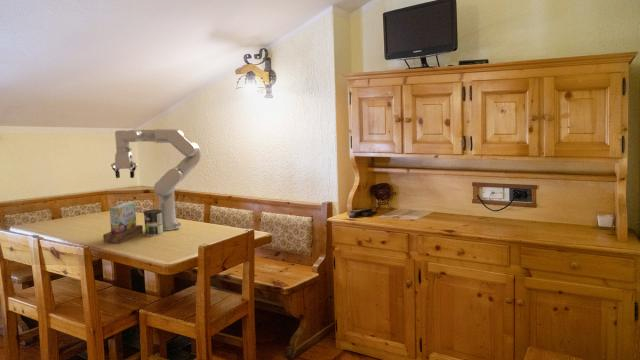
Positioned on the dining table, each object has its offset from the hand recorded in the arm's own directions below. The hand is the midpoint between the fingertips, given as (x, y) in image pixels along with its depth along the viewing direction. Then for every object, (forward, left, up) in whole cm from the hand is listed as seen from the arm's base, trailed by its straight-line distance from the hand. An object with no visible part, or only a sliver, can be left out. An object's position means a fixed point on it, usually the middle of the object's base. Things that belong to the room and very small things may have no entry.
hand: (125, 177), depth 283 cm
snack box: (-9, +20, -28) cm, 36 cm away
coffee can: (-22, +9, -34) cm, 41 cm away
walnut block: (-9, +20, -33) cm, 40 cm away
